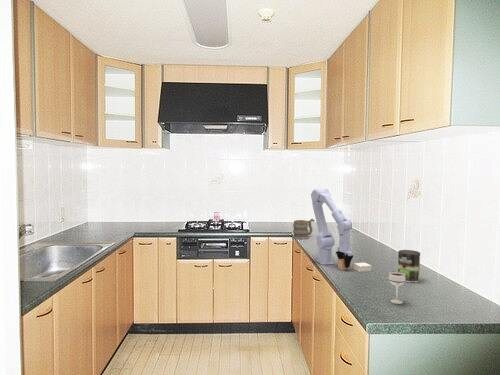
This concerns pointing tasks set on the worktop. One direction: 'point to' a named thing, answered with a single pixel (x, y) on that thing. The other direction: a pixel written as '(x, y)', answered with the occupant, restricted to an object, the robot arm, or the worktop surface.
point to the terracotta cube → (342, 264)
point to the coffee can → (409, 265)
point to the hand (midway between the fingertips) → (344, 265)
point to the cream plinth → (362, 267)
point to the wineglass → (397, 282)
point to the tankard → (302, 229)
